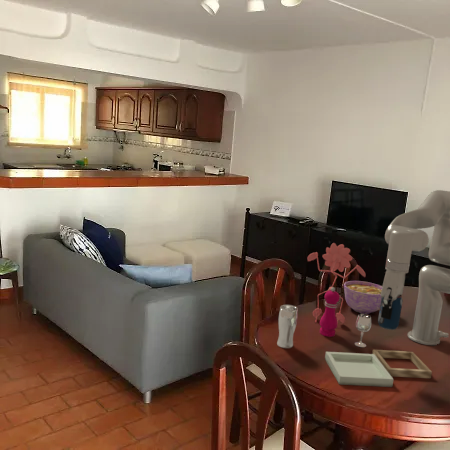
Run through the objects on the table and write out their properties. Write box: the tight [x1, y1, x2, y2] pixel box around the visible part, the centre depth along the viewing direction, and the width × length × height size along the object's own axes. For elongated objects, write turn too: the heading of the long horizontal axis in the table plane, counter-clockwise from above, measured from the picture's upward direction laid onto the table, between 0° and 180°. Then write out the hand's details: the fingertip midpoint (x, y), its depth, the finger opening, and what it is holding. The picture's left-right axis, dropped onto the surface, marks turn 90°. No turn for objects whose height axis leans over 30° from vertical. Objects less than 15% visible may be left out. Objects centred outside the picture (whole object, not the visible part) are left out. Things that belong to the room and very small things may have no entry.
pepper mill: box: [319, 286, 341, 338], centre depth 197 cm, size 7×7×20 cm
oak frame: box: [371, 349, 433, 379], centre depth 174 cm, size 15×15×2 cm
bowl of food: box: [343, 280, 383, 315], centre depth 229 cm, size 20×20×12 cm
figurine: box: [306, 242, 366, 326], centre depth 211 cm, size 15×26×35 cm, turn 65°
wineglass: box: [354, 313, 372, 348], centre depth 189 cm, size 6×6×12 cm
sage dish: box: [324, 351, 394, 388], centre depth 167 cm, size 18×18×3 cm
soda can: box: [377, 294, 404, 331], centre depth 167 cm, size 7×7×12 cm
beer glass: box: [276, 304, 299, 349], centre depth 183 cm, size 7×7×15 cm
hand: (389, 315), depth 167 cm, fingers closed on soda can, 7 cm apart
